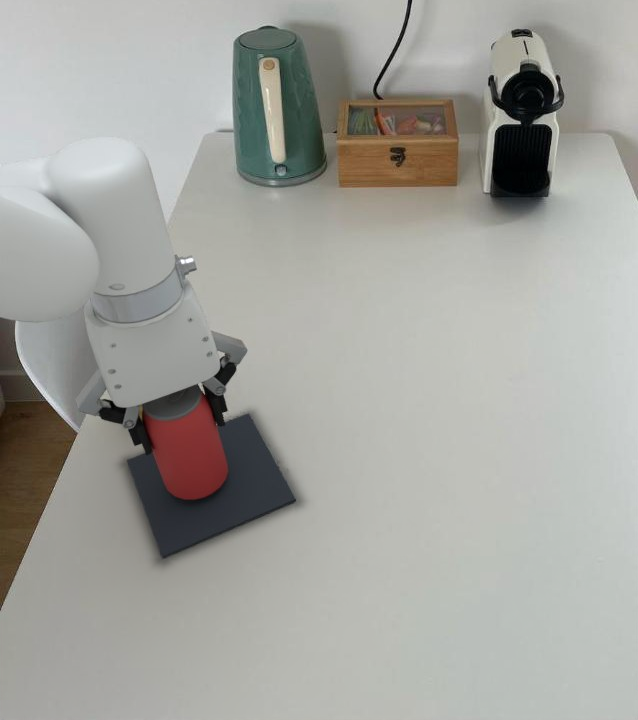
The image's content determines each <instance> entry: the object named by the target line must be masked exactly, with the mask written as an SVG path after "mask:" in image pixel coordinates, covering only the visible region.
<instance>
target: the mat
mask: <svg viewBox="0 0 638 720" xmlns="http://www.w3.org/2000/svg"><path fill="white" fill-rule="evenodd" d="M217 429H218V432H219V436H220V439H221V443H222V447H223V450H224V454H225V457H226V461H227V466H228V473H227V477H226V480H225V481H224V483H223V484H222V485H221V487H220V488H219V489H217V490H216V491H215V492H214V493H212V494H210V495H208V496H206V497H204V498H200V499H195V500H184V499H181V498H178V497H175V496H174V495H172V494H171V493H170V492H169V491H168V490H167V488H166V486H165V484H164V482H163V479H162V476H161V473H160V471H159V468H158V465H157V463H156V460H155V457H154V455H153V452H151V454H149V455H147V456H146V453H145V452H143V453H141V454H139V455H137V456H133V457H131V458H128V459H126V462H127V465H128V467H129V470H130V473H131V475H132V478H133V481H134V484H135V486H136V489H137V492H138V495H139V497H140V500H141V503H142V506H143V508H144V511H145V515H146V517H147V519H148V522H149V524H150V527H151V530H152V533H153V535H154V536H153V537H154V539H155V541H156V544H157V547H158V549H159V552H160V555H161V557H162V559H165V558H168V557H170V556H173V555H174V554H177V553H179V552H181V551H183V550H186V549H188V548H190V547H193V546H195V545H197V544H199V543H202V542H205V541H207V540H209V539H211V538H214V537H216V536H218V535H221V534H223V533H225V532H227V531H230V530H232V529H235V528H237V527H239V526H241V525H244V524H247V523H248V522H251V521H253V520H256V519H258V518H260V517H262V516H265V515H266V514H269V513H272V512H274V511H277V510H279V509H281V508H283V507H285V506H288V505H290V504H293V503H295V502H296V501H297V499H296V497H295V495H294V493H293V492H292V489H291V488H290V486H289V484H288V482H287V480H286V479H285V477H284V475H283V473H282V472H281V470H280V468H279V466H278V464H277V462H276V460H275V459H274V457H273V455H272V453H271V451H270V449H269V448H268V446H267V444H266V442H265V440H264V439H263V436H262V435H261V433H260V431H259V429H258V427H257V426H256V424H255V421H254V420H253V418H252V416H251V414H250V413H249V412H248V413H245V414H243V415H241V416H238V417H235V418H233V419H230V420H228V421H225V426H222V427H220V426H217Z"/></svg>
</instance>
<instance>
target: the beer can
mask: <svg viewBox="0 0 638 720" xmlns="http://www.w3.org/2000/svg"><path fill="white" fill-rule="evenodd" d="M142 423H143V426H144V428H145V431H146V434H147V436H148V439H149V442H150V445H151V447H152V450H153V455H154V457H155V460H156V463H157V465H158V468H159V471H160V473H161V476H162V479H163V482H164V484H165V486H166V488H167V490H168V491H169V492H170V493H171V494H172V495H174V496H175V497H178V498H181V499H184V500H195V499H200V498H204V497H206V496H208V495H210V494H212V493H214V492H215V491H216V490H217V489H219V488H220V487H221V485H222V484H223V483H224V481H225V480H226V477H227V473H228V466H227V461H226V457H225V454H224V450H223V447H222V443H221V439H220V436H219V432H218V429H217V424H216V422H215V418H214V415H213V411H212V408H211V404H210V402H209V400H208V399H207V397H206V396H205V392H204V391H203V390H202V389H201V387H200V386H199V383H198V384H196V385H193V386H190V387H188V388H185V389H182V390H180V391H177V392H174V393H171V394H169V395H166V396H163V397H160V398H158V399H155V400H152V401H149V402H146V403H143V404H142Z"/></svg>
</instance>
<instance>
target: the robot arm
mask: <svg viewBox="0 0 638 720" xmlns="http://www.w3.org/2000/svg"><path fill="white" fill-rule="evenodd" d="M197 270H198V269H197V265H196V262H195V259H194V257H193V255H187V256H185V257H184V256H178V254H175V252H174V248H173V245H172V241H171V237H170V233H169V230H168V226H167V223H166V218H165V215H164V212H163V208H162V204H161V200H160V198H159V193H158V190H157V185H156V182H155V178H154V174H153V171H152V168H151V164H150V162H149V159H148V156H147V155H146V153H145V152H144V151H143V150H142V148H141V147H140V146H139V145H138V144H136V143H135V142H134V141H131V140H129V139H127V138H124V137H120V136H113V135H102V136H101V135H100V136H91V137H86V138H82V139H79V140H76V141H73V142H71V143H69V144H66V145H65V146H63V147H61V148H60V149H58V150H57V151H55V152H54V153H51V154H47V155H44V156H38V157H34V158H27V159H23V160H16V161H12V162H11V161H10V162H4V163H0V318H1V319H5V320H8V321H9V320H10V321H15V322H22V323H34V324H35V323H36V324H38V323H47V322H53V321H57V320H61V319H63V318H66V317H68V316H71V315H73V314H74V313H75V312H76V311H78V310H80V309H81V308H82V307H84V308H83V314H84V321H85V327H86V332H87V336H88V340H89V343H90V347H91V350H92V353H93V356H94V360H95V362H96V365H97V368H96V370H95V372H94V373H93V375H92V376H91V377H90V379H89V380H88V382H87V383H86V384H85V385H84V387H83V388H82V390H81V391H80V392H79V393H78V395H77V397H75V404H76V407H77V411H79V412H80V413H82V414H86V415H90V416H93V417H99V418H100V419H101V420H102V421H106V422H110V423H114V424H117V425H122V427H123V429H126V430H127V431H128V433H129V436H130V438H131V441H132V444H133V446H134V447H137V446H140V445H141V447H142V448H143V451H144V453H146V456H147V455H149V454H151V452H153V450H152V447H151V445H150V442H149V439H148V436H147V434H146V431H145V428H144V426H143V423H142V421H141V418H140V416H139V410H140V406H141V404H143V403H146V402H149V401H152V400H155V399H158V398H160V397H163V396H166V395H169V394H171V393H174V392H177V391H180V390H182V389H185V388H188V387H190V386H193V385H196V384H198V385H199V384H201V385H202V389H203V393H204V394H205V396H206V397H207V399H208V400H209V402H210V404H211V408H212V411H213V415H214V418H215V422H216V425H217V426H220V427H222V426H225V422H226V421H225V419H224V413H226V412H228V411H229V410H228V406H227V402H226V398H225V393H226V392H227V387H226V386H227V385H228V383H229V382H230V380H231V379H232V378H233V377H234V375H235V374H236V373H237V367H238V366H239V365H240V364H241V363H242V361H243V359H244V358H245V357H246V355H247V353H248V348H247V346H246V344H245V342H244V341H243V340H242V339H239V338H235V337H232V336H229V335H226V334H223V333H220V332H217V331H213V330H211V328H210V324H209V322H208V319H207V317H206V314H205V312H204V310H203V309H204V308H203V307H202V305H201V303H200V301H199V298H198V296H197V292H196V291H195V288H194V287H193V285H192V283H191V281H190V280H189V278H188V277H187V275H190V273H193V272H195V271H197ZM219 352H220V353H223V354H224V355H222V356H221V357H220V356H219ZM106 391H107V393H108V395H109V397H110V399H108V398H102V396H103V395H104V393H105V392H106ZM101 398H102V399H101Z"/></svg>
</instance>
